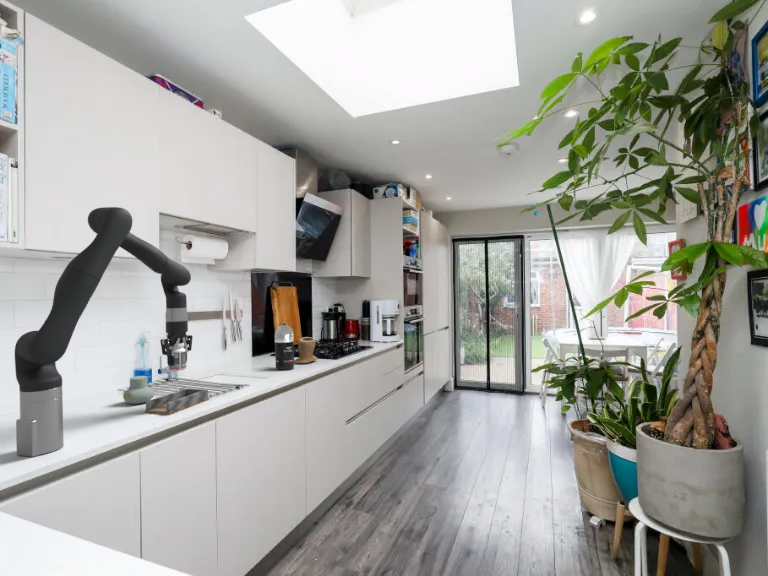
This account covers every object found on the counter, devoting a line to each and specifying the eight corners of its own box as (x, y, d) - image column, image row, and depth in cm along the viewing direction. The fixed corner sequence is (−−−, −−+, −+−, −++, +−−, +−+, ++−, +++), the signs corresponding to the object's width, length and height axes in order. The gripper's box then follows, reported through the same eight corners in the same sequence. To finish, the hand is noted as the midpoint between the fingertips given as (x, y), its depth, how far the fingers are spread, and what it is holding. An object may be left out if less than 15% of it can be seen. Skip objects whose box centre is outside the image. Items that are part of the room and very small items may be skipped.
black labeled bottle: (271, 369, 227) (270, 323, 227) (288, 366, 234) (287, 322, 234) (281, 371, 219) (280, 324, 219) (298, 368, 226) (297, 323, 226)
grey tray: (170, 414, 146) (170, 403, 146) (145, 412, 149) (145, 401, 149) (208, 399, 166) (208, 389, 166) (186, 398, 169) (185, 388, 169)
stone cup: (308, 365, 236) (307, 339, 237) (291, 364, 242) (290, 338, 242) (322, 360, 250) (322, 336, 250) (306, 359, 255) (306, 335, 255)
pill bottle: (181, 367, 161) (181, 342, 161) (188, 369, 158) (188, 343, 158) (166, 370, 157) (166, 343, 157) (173, 371, 153) (172, 344, 153)
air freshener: (156, 401, 164) (156, 376, 164) (135, 407, 157) (134, 380, 157) (142, 398, 170) (142, 373, 170) (121, 403, 163) (120, 377, 163)
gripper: (170, 321, 149) (171, 368, 149) (198, 318, 163) (199, 361, 163) (153, 321, 152) (154, 367, 151) (182, 318, 165) (183, 360, 165)
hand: (177, 364), depth 157 cm, fingers closed on pill bottle, 5 cm apart
